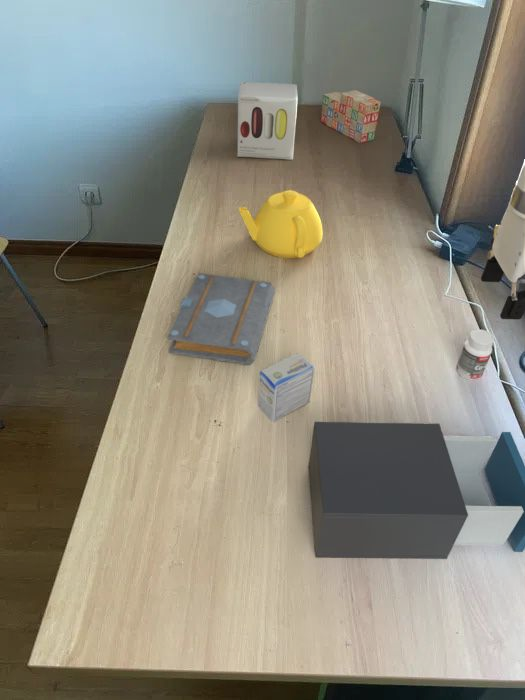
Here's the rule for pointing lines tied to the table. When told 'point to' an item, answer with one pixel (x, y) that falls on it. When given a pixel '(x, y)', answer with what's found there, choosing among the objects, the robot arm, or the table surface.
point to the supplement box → (266, 120)
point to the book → (222, 319)
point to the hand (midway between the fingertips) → (499, 298)
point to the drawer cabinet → (383, 491)
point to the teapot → (285, 225)
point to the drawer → (506, 484)
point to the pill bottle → (475, 355)
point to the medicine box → (285, 386)
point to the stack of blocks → (351, 114)
